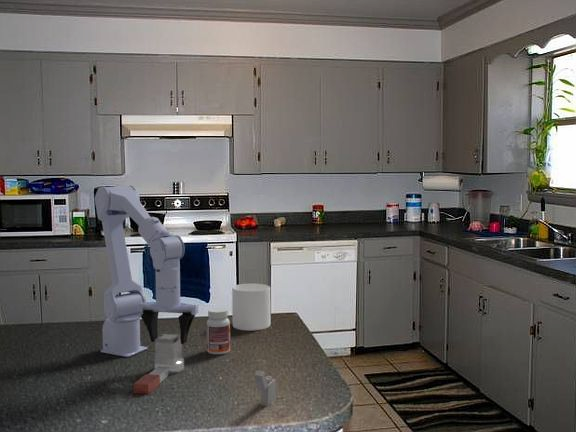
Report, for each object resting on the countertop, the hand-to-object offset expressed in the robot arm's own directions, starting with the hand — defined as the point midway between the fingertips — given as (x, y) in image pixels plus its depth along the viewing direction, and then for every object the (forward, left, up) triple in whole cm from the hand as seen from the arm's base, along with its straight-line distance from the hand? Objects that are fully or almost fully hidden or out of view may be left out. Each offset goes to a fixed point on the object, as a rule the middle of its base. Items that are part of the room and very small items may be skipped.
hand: (168, 341), depth 143 cm
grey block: (0, 0, -5) cm, 5 cm away
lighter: (+31, -8, -7) cm, 33 cm away
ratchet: (+2, -6, -7) cm, 9 cm away
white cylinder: (-2, +43, -7) cm, 44 cm away
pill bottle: (+3, +17, -7) cm, 19 cm away
